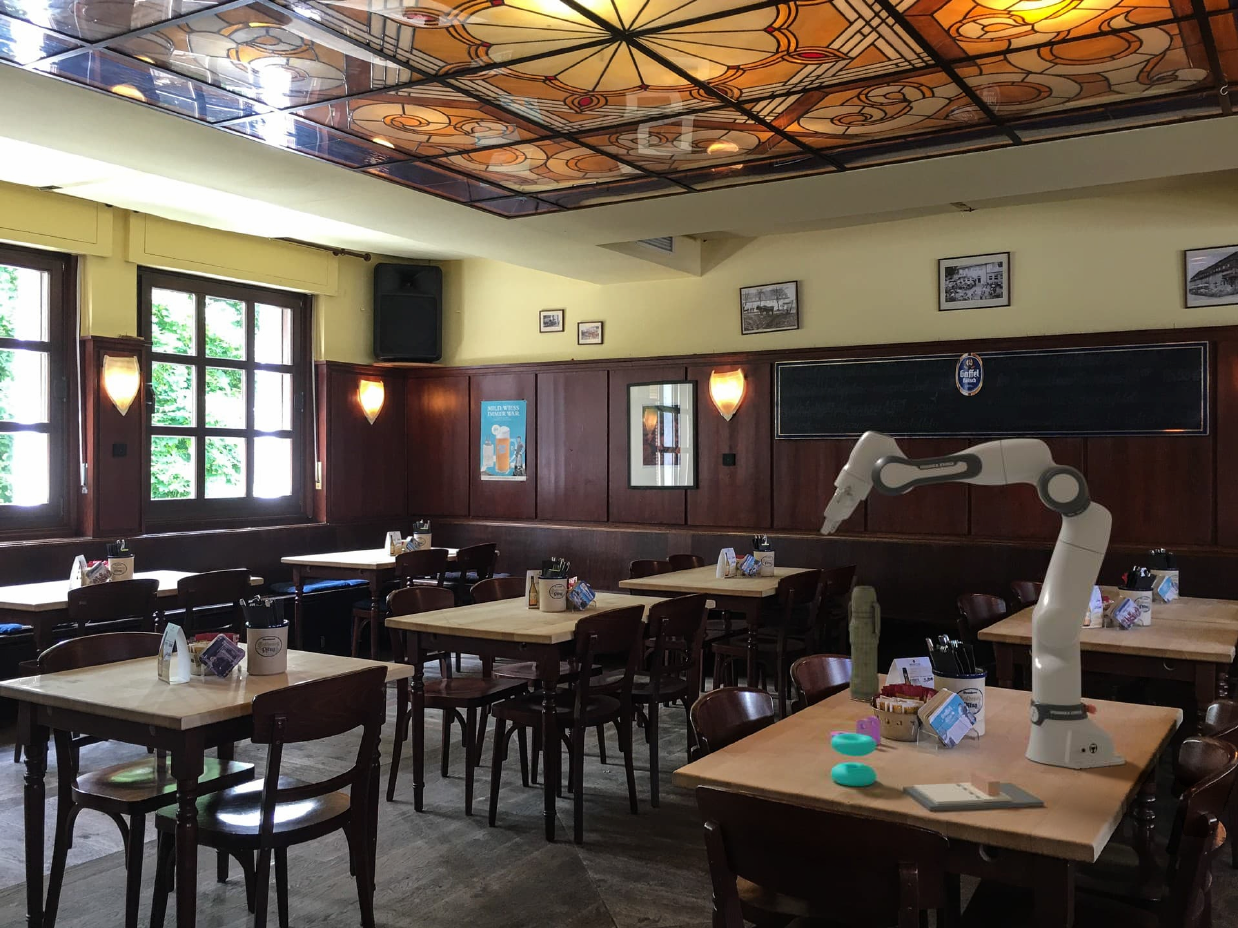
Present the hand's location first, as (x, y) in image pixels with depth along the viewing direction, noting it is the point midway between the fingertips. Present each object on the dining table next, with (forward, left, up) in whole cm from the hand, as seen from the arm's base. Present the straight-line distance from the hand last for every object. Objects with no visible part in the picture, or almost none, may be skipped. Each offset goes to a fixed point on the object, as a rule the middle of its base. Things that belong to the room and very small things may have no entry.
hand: (826, 532), depth 281 cm
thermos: (-28, -48, -55) cm, 78 cm away
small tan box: (-16, +55, -53) cm, 78 cm away
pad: (-13, +55, -54) cm, 78 cm away
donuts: (+7, +39, -55) cm, 67 cm away
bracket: (-6, +3, -55) cm, 55 cm away
